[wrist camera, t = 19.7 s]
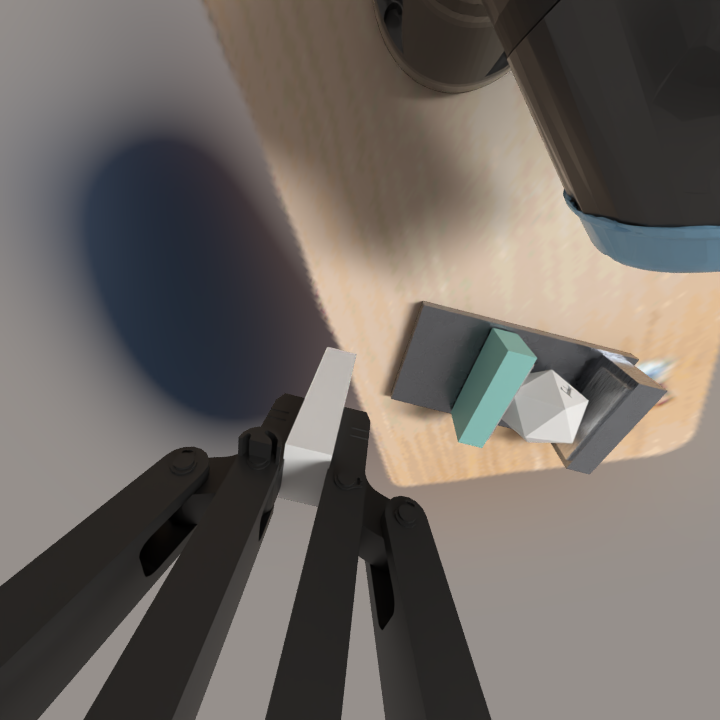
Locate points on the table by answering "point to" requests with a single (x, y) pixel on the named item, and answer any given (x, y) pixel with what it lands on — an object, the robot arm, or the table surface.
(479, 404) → the bar
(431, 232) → the table surface
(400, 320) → the table surface
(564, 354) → the vise base
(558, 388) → the die
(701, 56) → the robot arm
